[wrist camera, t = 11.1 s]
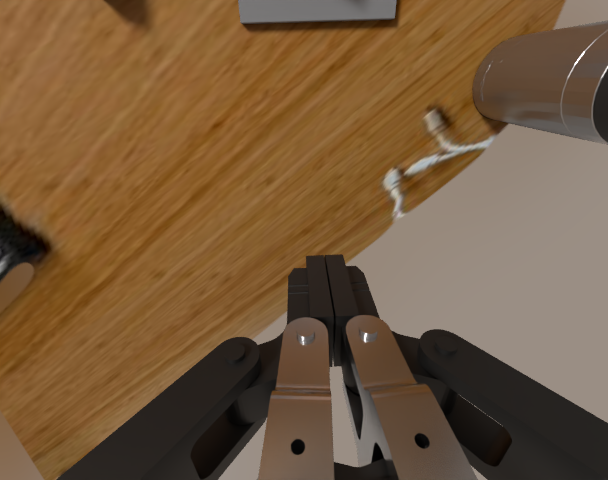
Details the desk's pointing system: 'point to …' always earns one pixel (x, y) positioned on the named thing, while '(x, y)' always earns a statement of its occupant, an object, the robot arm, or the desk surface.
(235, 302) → the desk surface
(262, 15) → the slate mat
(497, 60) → the robot arm
